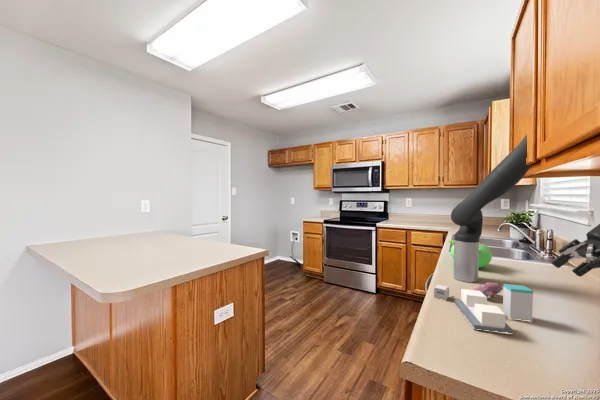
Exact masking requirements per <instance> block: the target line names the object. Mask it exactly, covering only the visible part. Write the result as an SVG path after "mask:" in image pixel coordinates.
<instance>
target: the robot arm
mask: <svg viewBox="0 0 600 400" xmlns="http://www.w3.org/2000/svg"><path fill="white" fill-rule="evenodd" d="M526 158H527V134H526V135H525V136H524V137H523V138H522V139H521V140H520V142H519V144H517V146H516V147H515V148H514V149H512V151H511V152H510V153H508V154H507V155H506V156H504V158H503V159H502V160H501V161H500V162H499V163H497V165H496V166H495V167H494V168H493V169H492V170H491V171H490V173H488V174H487V175H486V177H485V178H484V179H483V180H482V181H481V182H480V183H479V184H478V185H477V186H476V187H475V189H473V190H472V191H471V193H469V195H468V196H466V197H465V198H464V199H463V200H461V202H459V203H458V204H457V205H456V206H455V207H454V208H452V211H451V213H450V219H451V221H452V223H454V224H455V225H457V226H459V229H458V230H457V231H456V232H455V233H454V236H453V237H454V239H453V241H454V259H453V278H454V279H455V280H457V281H461V282H466V283H477V282H479V268H480V267H479V242H480V237H481V236H482V232H483V221H484V219H483V218H484V216H483V211H482V209H483V208H484V207H486V206H487V205H488V204H489V203H492V202H493V201H495V200H497V199H498V198H500V197H502V196H504V195H505V194H506V193H507V194H508V192H509V191H511V190H512V189H513V188H514V187H515V186H516V185H517V184H518V183H519V182H520V181H521V180H522V179H523V178H524V177H525V176H526V174H527V173H528V171H529V170H530V168H531V167H532V165H526ZM585 235H586V240H583V241H580V240H578V239H577V238H575V239H574V240H572V241H570V242H569V243H567V244H566V245H564V246H563V247H561V248H560V249H559V250H558V253H559V254H560V255H559V256H558V257H557V258H555V259H554V260H552V261H551V264H552V265H553V266H554V267H555V268H557V269H560V268H561V267H563V266H564V265H565V264H567V263H568V262H570V261H571V260H574V259H578V260H580V259H585V261H583V262H582V263H580V264H578V265H577V266H576V267H574V268H573V269H572V270H571V271H572V273H574V274H575V275H576V276H578V277H582V276H584V275H586V274H587V273H589V272H590V271H592V270H593V269H594V270H596V269H600V223H599V224H597V225H596V226H595V227H593V228H592V229H590V230H588V232H587V233H586V234H585Z"/></svg>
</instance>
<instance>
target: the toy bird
mask: <svg viewBox="0 0 600 400" xmlns="http://www.w3.org/2000/svg"><path fill="white" fill-rule="evenodd" d="M447 242H448V243H450V244H452V245H451V248H450V256H451V258H452V259H453V260H454V239H447ZM492 259H493V254H492V250H490V247H489V246H487V245H486V244H484V243H482V242H480V241H479V268H483V267H486V266H488V265H489V264H490V263H491V261H492Z"/></svg>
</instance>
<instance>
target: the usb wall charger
mask: <svg viewBox="0 0 600 400" xmlns="http://www.w3.org/2000/svg"><path fill="white" fill-rule="evenodd" d="M433 289H434V290H433V298H434V299H436V298H438V299H437V300H440V299H443V300H442V301H444V300H446V301H447V299H448V298H449V297H450V287H449V286H447V285H442V284H437V285H436V286H435V287H434V288H433Z"/></svg>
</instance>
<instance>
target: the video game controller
mask: <svg viewBox="0 0 600 400" xmlns="http://www.w3.org/2000/svg"><path fill="white" fill-rule="evenodd" d="M472 290H476V291H481V292H482V293H483V294H484V295H485V296H486V297H487V298H488V297H490V298H494V297H495V296H497V294H500V293H501V292H502V291H503V290H504V287H503V286H501V285H500V284H499V283H497V282H485V283H482V284H481V285H478V286H477V287H476V288H473V289H472Z"/></svg>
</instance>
